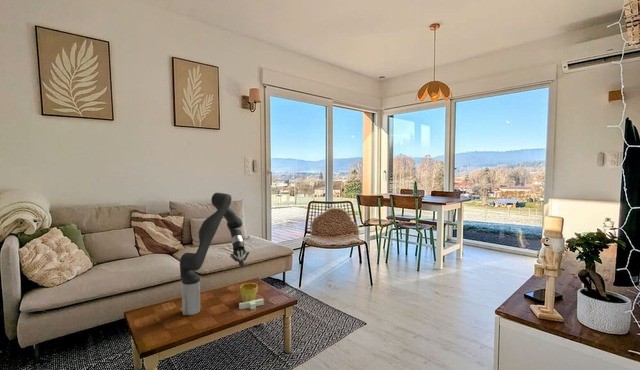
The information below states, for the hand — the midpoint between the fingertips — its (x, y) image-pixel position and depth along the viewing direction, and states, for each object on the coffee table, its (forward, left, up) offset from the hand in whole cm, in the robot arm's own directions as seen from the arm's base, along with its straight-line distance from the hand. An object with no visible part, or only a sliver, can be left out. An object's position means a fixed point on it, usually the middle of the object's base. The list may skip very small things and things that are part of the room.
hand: (241, 266), depth 201 cm
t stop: (0, -26, -16) cm, 31 cm away
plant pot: (0, -18, -17) cm, 25 cm away
